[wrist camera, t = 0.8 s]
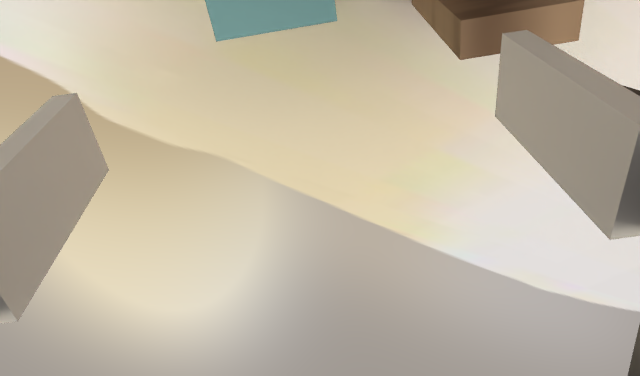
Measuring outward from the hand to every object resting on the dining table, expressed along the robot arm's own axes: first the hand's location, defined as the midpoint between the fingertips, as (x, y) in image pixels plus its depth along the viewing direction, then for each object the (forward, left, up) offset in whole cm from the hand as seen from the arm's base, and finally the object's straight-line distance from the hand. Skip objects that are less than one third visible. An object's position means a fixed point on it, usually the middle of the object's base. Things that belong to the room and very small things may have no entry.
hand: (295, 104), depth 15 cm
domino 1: (+1, -1, -22) cm, 22 cm away
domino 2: (-11, +2, -22) cm, 24 cm away
